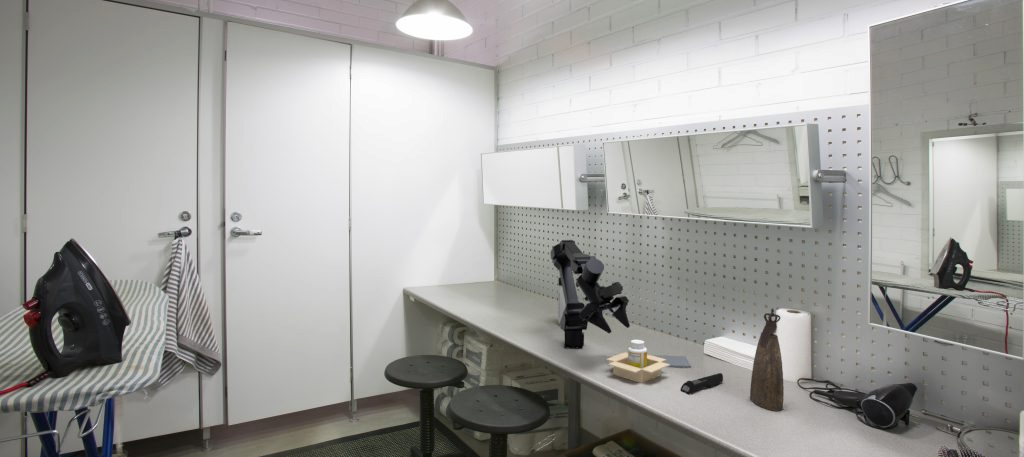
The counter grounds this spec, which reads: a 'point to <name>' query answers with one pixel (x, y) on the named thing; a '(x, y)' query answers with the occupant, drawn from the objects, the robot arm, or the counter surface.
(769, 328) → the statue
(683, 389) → the electric trimmer
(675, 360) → the rubber mat
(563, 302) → the travel mug
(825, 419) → the counter surface
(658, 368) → the carton
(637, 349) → the supplement bottle
